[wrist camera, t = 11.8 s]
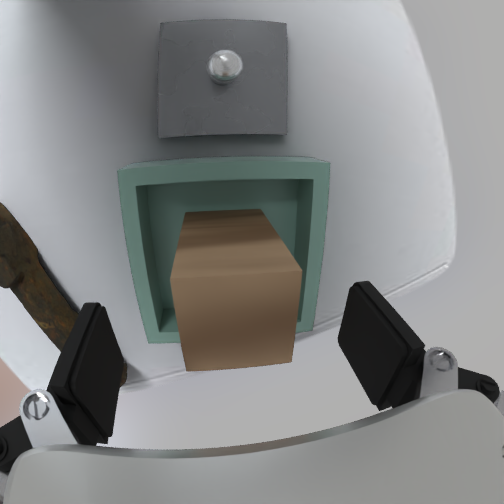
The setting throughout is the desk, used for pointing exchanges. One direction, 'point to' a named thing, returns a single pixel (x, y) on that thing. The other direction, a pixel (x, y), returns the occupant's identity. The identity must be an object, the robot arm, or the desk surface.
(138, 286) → the bin
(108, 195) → the desk surface
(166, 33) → the stud base
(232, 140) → the desk surface
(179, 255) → the brown wooden block
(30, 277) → the hand tool
